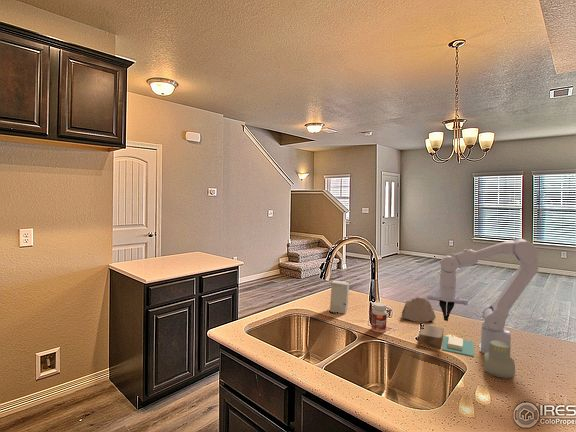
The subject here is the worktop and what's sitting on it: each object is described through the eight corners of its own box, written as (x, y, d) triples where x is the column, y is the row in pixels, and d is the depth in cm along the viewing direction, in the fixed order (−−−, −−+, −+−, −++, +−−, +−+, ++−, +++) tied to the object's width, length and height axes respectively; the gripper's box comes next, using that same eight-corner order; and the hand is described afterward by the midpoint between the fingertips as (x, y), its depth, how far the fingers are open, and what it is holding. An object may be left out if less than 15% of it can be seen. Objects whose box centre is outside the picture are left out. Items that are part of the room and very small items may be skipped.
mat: (473, 342, 134) (473, 341, 134) (473, 356, 122) (473, 355, 122) (444, 336, 139) (444, 335, 139) (442, 350, 127) (442, 349, 127)
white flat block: (449, 336, 135) (448, 339, 135) (447, 343, 128) (447, 347, 128) (463, 338, 133) (462, 342, 133) (462, 346, 126) (462, 350, 126)
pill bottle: (376, 333, 141) (377, 307, 141) (368, 328, 147) (369, 302, 146) (389, 332, 143) (390, 306, 142) (380, 326, 149) (381, 301, 148)
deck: (442, 337, 138) (443, 328, 138) (440, 348, 128) (441, 338, 128) (422, 333, 142) (422, 324, 142) (418, 344, 132) (419, 334, 131)
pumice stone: (401, 320, 158) (402, 299, 157) (401, 314, 165) (401, 295, 164) (436, 324, 153) (437, 303, 153) (434, 318, 160) (435, 298, 160)
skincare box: (329, 311, 167) (330, 282, 166) (332, 308, 172) (333, 279, 172) (346, 314, 164) (347, 284, 163) (348, 310, 170) (349, 281, 169)
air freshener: (515, 384, 104) (516, 353, 103) (484, 377, 108) (485, 347, 107) (511, 369, 113) (513, 340, 113) (483, 363, 117) (485, 335, 117)
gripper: (426, 285, 132) (425, 319, 133) (468, 291, 125) (466, 326, 126) (428, 282, 138) (427, 314, 139) (468, 287, 132) (466, 321, 132)
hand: (446, 320), depth 133 cm, fingers closed
